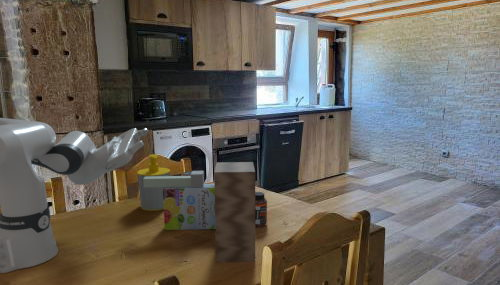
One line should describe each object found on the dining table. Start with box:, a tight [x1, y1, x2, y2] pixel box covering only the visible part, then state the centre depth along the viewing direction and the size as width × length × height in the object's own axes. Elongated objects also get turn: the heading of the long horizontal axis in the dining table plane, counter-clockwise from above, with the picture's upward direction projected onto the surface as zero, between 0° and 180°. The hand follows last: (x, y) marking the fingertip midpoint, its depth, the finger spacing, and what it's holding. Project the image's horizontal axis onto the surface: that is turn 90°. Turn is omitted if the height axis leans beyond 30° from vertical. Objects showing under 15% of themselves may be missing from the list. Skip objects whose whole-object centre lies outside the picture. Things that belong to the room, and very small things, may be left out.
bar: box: [143, 170, 205, 187], centre depth 122 cm, size 20×5×4 cm, turn 93°
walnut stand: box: [213, 161, 256, 263], centre depth 104 cm, size 11×12×26 cm
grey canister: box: [136, 154, 171, 212], centre depth 145 cm, size 13×13×21 cm
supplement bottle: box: [255, 191, 268, 228], centre depth 127 cm, size 6×6×11 cm
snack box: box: [163, 183, 215, 231], centre depth 124 cm, size 21×6×15 cm, turn 92°
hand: (145, 136), depth 121 cm, fingers open, 8 cm apart
